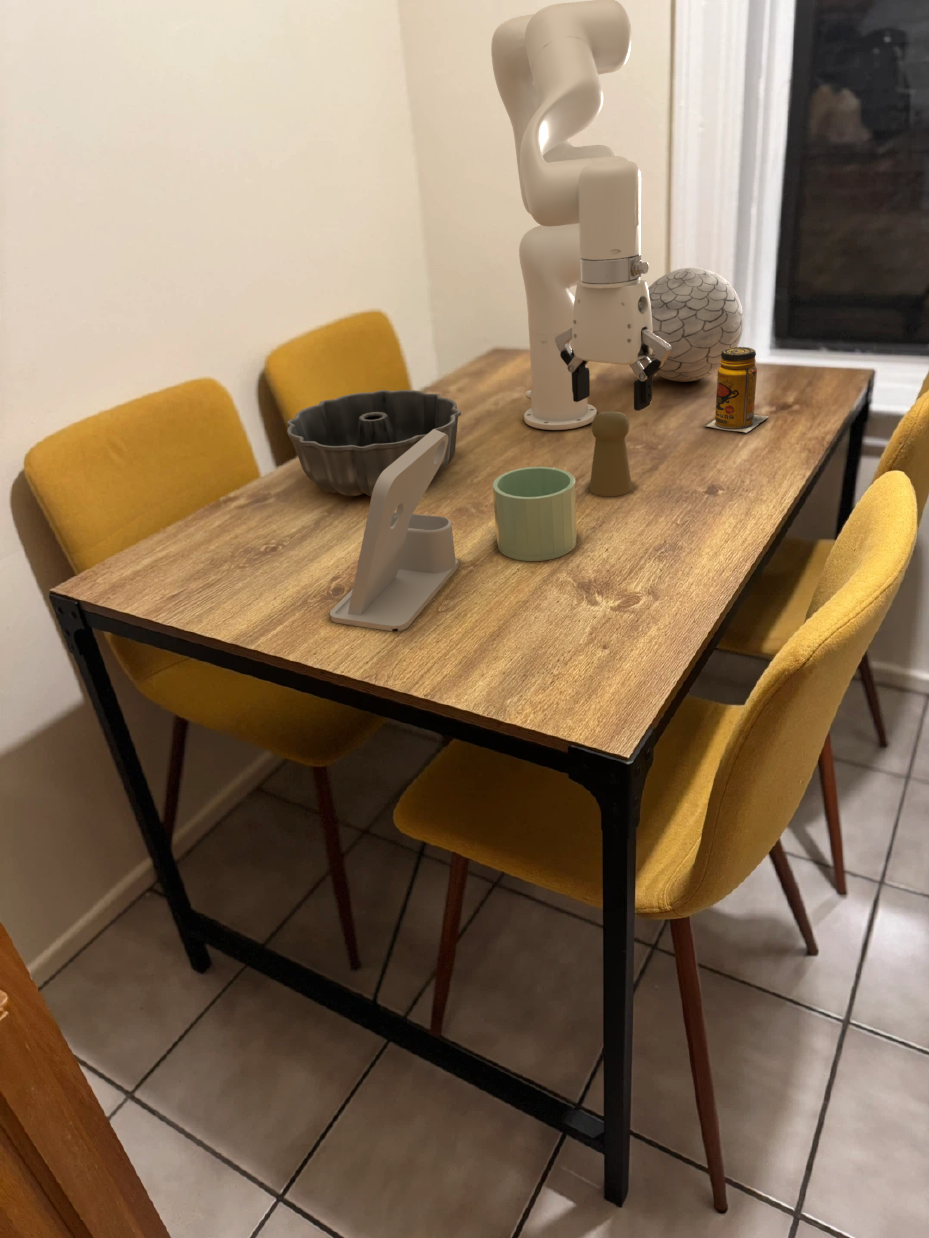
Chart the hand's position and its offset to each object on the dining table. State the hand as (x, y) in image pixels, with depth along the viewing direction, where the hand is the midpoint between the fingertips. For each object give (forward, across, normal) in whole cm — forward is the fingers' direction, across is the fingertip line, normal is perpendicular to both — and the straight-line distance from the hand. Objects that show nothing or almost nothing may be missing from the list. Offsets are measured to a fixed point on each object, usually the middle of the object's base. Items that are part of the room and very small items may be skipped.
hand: (611, 403), depth 121 cm
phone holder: (+13, +6, +38) cm, 41 cm away
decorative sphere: (+12, +16, -51) cm, 55 cm away
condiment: (+12, -3, -33) cm, 36 cm away
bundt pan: (+12, +34, +13) cm, 39 cm away
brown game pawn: (+13, 0, 0) cm, 13 cm away
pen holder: (+13, -1, +19) cm, 23 cm away
